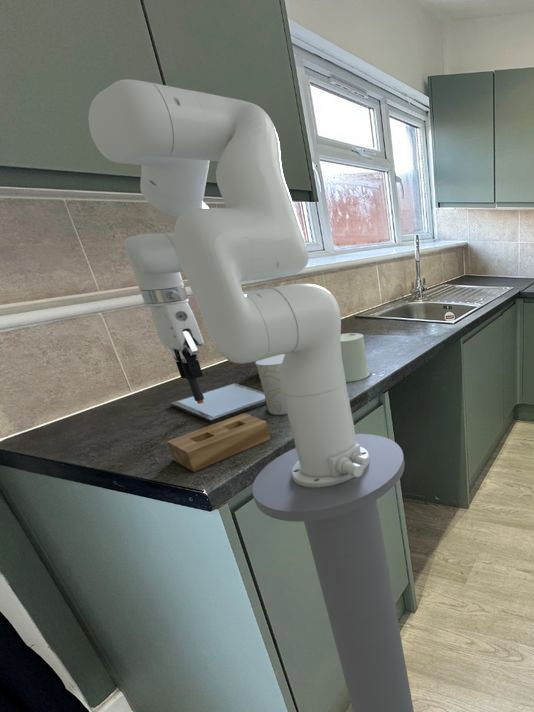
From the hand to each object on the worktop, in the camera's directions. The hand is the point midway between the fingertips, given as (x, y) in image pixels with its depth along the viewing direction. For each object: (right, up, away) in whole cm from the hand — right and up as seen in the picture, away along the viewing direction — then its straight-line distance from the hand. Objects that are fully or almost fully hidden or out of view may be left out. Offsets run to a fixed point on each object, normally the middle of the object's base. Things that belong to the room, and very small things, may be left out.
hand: (192, 376), depth 95 cm
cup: (+20, -7, +4) cm, 22 cm away
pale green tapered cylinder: (+28, 0, +23) cm, 36 cm away
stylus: (0, -6, +2) cm, 7 cm away
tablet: (+3, -6, +7) cm, 10 cm away
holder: (+18, -14, -15) cm, 27 cm away
